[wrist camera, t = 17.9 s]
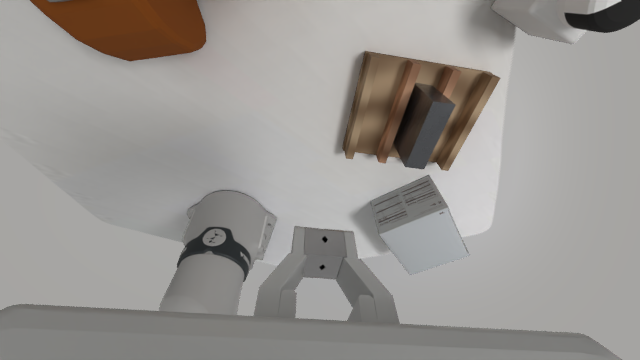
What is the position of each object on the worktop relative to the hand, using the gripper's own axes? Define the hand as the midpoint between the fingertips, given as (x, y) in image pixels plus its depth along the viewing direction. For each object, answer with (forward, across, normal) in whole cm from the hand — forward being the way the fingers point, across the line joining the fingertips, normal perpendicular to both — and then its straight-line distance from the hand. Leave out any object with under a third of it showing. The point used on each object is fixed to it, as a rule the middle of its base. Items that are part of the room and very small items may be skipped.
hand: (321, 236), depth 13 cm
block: (+30, +16, -4) cm, 34 cm away
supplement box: (+32, +25, -26) cm, 48 cm away
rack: (+31, +16, -4) cm, 35 cm away
